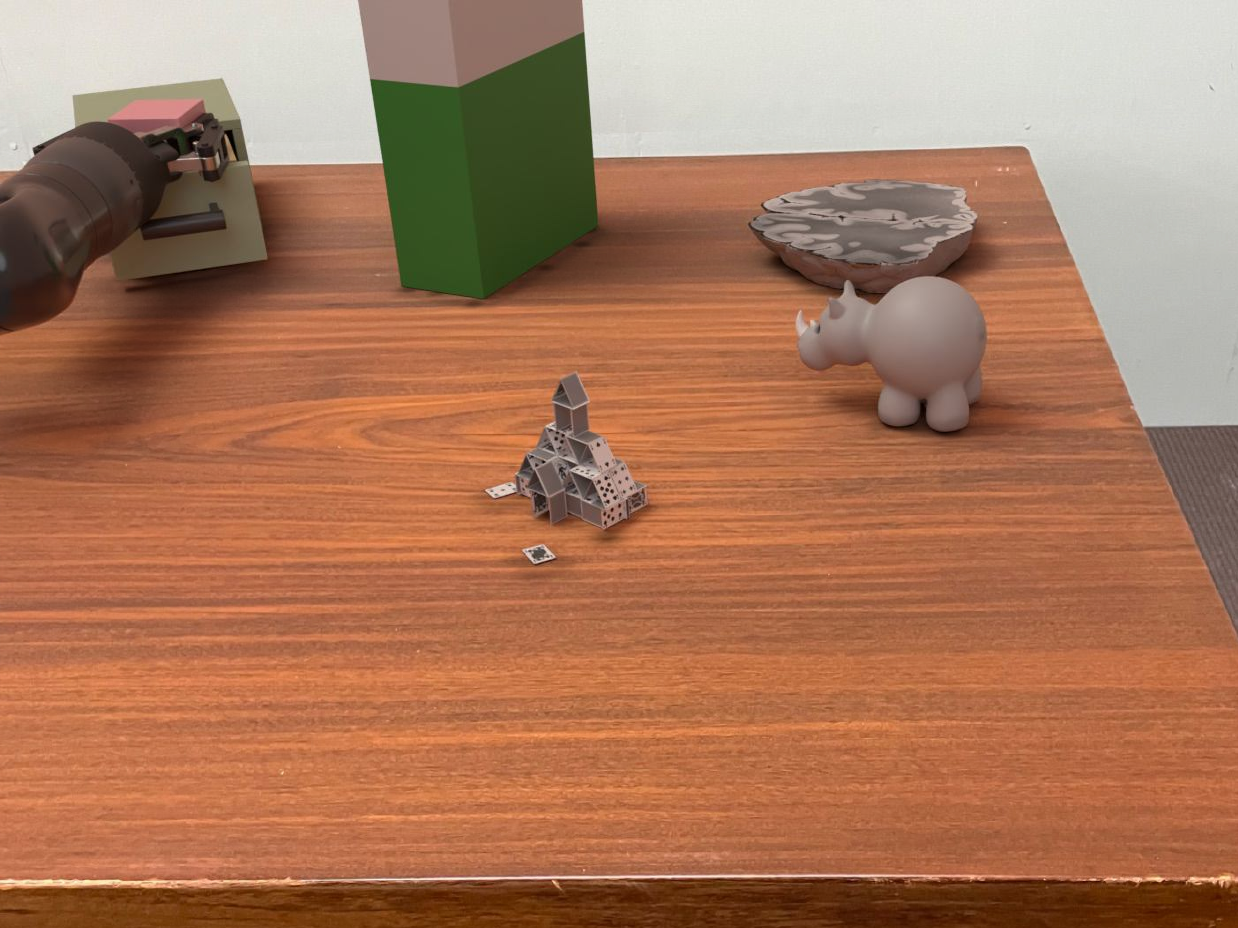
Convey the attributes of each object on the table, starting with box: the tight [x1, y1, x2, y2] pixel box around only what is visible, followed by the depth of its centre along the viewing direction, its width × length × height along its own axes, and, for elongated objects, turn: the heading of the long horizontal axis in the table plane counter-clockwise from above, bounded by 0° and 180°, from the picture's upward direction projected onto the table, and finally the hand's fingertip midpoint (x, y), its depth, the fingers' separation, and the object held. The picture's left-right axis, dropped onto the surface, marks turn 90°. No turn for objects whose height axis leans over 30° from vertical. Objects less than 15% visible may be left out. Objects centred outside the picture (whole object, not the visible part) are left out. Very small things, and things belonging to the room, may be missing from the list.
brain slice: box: [747, 178, 979, 294], centre depth 117 cm, size 20×17×3 cm
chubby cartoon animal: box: [794, 276, 988, 433], centre depth 93 cm, size 7×12×8 cm, turn 67°
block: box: [108, 99, 206, 154], centre depth 118 cm, size 6×6×8 cm
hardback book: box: [357, 0, 599, 300], centre depth 114 cm, size 18×7×24 cm, turn 154°
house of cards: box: [484, 370, 649, 565], centre depth 84 cm, size 9×9×8 cm
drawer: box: [108, 131, 269, 282], centre depth 119 cm, size 18×11×7 cm, turn 20°
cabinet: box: [72, 77, 264, 231], centre depth 129 cm, size 15×13×9 cm
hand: (173, 126), depth 119 cm, fingers closed on block, 5 cm apart
